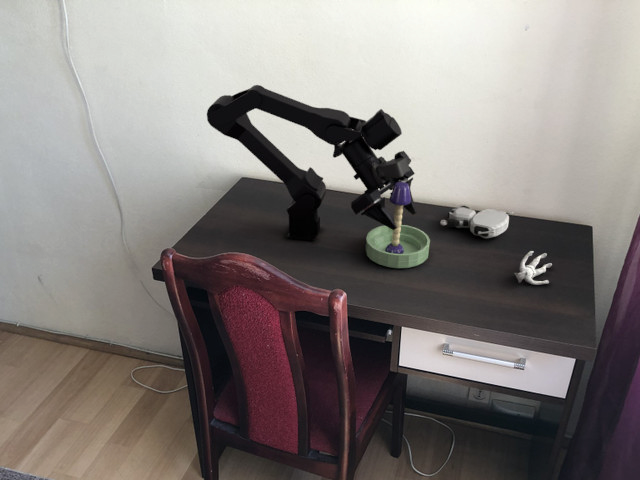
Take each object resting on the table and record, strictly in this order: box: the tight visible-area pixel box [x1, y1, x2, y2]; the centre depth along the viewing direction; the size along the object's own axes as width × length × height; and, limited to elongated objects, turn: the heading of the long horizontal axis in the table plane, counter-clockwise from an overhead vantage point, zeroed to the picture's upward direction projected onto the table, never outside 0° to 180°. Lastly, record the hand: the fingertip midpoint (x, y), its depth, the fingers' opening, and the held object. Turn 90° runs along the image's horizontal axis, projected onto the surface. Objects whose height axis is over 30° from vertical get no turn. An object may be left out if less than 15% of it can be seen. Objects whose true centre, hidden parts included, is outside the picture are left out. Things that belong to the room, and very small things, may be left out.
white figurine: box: [513, 250, 553, 286], centre depth 149 cm, size 8×5×12 cm
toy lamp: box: [385, 182, 411, 254], centre depth 153 cm, size 5×5×17 cm
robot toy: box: [440, 205, 515, 239], centre depth 167 cm, size 12×4×15 cm
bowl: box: [365, 224, 431, 269], centre depth 157 cm, size 14×14×4 cm
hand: (405, 221), depth 152 cm, fingers open, 8 cm apart
